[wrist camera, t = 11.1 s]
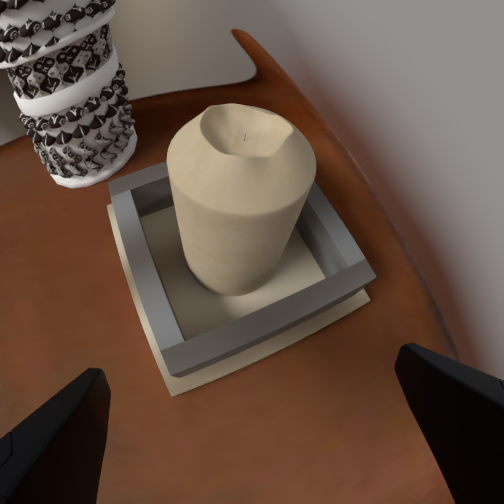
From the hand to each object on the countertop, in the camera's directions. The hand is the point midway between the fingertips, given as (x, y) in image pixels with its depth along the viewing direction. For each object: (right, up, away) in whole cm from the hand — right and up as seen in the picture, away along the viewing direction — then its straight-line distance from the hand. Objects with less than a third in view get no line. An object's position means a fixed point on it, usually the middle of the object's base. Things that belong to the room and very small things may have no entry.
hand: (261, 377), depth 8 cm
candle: (-2, +3, +11) cm, 11 cm away
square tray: (-2, +3, +11) cm, 12 cm away
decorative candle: (-14, +12, +15) cm, 23 cm away
